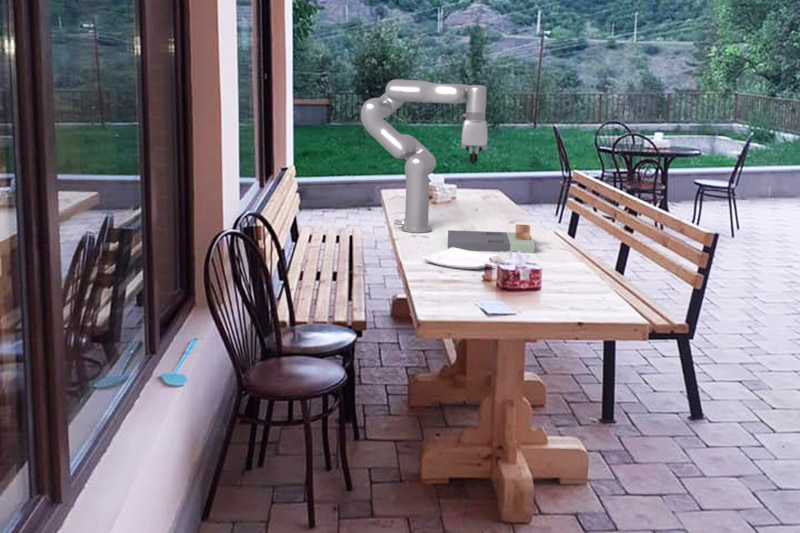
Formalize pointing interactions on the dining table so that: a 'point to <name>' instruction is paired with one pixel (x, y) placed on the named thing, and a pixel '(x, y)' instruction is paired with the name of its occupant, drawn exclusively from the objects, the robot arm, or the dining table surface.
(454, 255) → the plate
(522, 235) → the terracotta block
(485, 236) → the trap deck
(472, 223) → the dining table surface
